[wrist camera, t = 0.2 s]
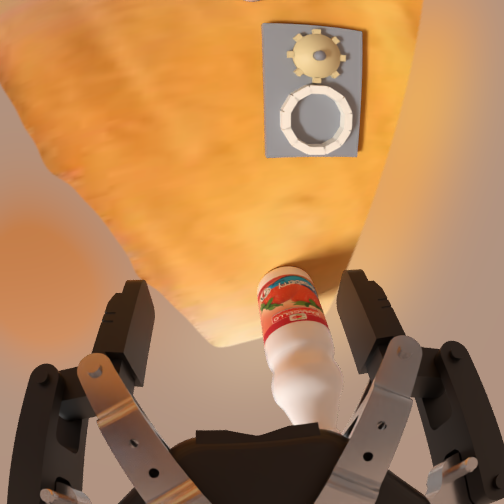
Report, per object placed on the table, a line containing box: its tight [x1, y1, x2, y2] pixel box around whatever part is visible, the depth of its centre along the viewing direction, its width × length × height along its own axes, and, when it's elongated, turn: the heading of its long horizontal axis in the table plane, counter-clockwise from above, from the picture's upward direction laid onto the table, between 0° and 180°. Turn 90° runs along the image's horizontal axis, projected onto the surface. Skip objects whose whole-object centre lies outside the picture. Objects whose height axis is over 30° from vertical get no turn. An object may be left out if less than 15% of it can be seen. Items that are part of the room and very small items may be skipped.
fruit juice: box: [257, 266, 344, 434], centre depth 39 cm, size 9×9×28 cm
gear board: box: [262, 23, 362, 158], centre depth 32 cm, size 17×12×4 cm
